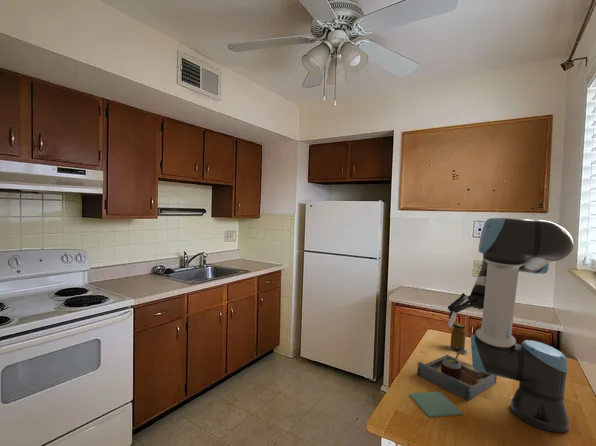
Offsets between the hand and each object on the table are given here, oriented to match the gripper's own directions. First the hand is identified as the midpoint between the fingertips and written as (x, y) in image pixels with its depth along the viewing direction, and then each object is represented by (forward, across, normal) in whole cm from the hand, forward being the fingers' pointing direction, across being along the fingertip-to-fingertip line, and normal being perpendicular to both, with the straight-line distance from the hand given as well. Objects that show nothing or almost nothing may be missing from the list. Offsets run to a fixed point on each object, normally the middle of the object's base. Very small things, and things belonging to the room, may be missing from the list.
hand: (466, 331), depth 129 cm
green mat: (+34, -3, +10) cm, 35 cm away
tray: (+18, 0, -7) cm, 19 cm away
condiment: (-2, +10, -28) cm, 30 cm away
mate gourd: (+20, 0, -4) cm, 21 cm away
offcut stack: (+14, -1, -11) cm, 18 cm away
